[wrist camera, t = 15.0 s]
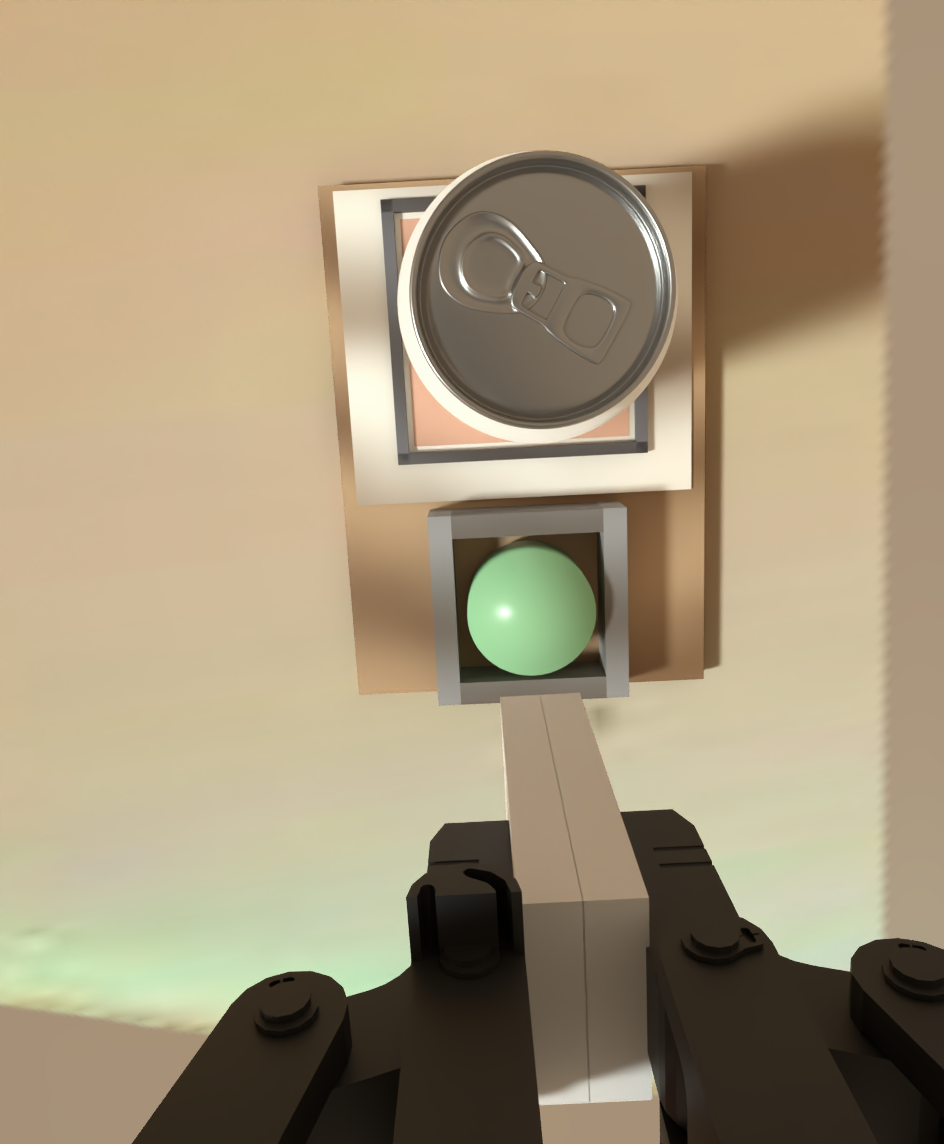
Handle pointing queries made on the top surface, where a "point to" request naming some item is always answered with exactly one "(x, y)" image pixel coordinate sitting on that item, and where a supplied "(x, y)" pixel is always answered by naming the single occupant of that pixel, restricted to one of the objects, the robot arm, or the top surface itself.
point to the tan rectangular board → (512, 477)
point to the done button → (530, 608)
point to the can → (537, 296)
